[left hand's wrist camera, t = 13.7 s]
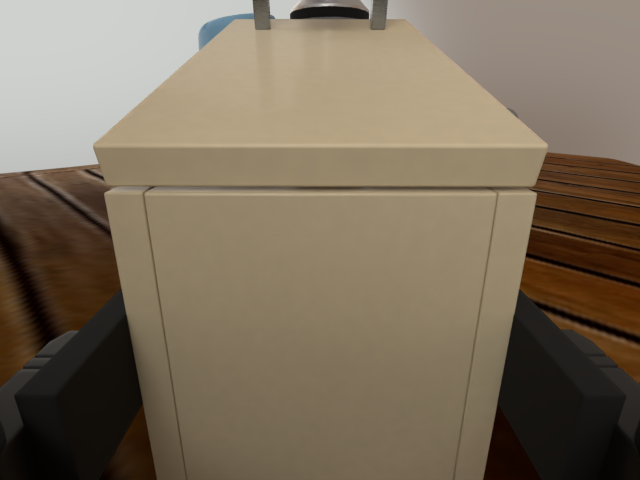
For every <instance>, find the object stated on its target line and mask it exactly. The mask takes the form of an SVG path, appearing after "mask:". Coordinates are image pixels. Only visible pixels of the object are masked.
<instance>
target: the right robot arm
mask: <svg viewBox="0 0 640 480" xmlns="http://www.w3.org/2000/svg"><path fill="white" fill-rule="evenodd" d="M235 19H254V14H253V13H250V14H239V15H232V16H227V17H222V18H218V19H215V20H212V21H209V22H207V23H206V24H204V25H203V26H202V27H201V29H200V31H199V36H198V39H199V50H201V49H202V48H203V47H204V46H205V45H206V44H207V43H209V42H210V41H211V40H212V39H213V38H214V37H215V36H216V35H218V34H219V33H220V32H221V31H222V30H223V29H224V28H226V27H227V26H228V25H229V24H230V23H231V22H232V21H233V20H235ZM270 19H275V17H274V16H272V15H270ZM290 19H369V10H368V9H367V8H366V7H365V6H364V5H363V3H362V2H361V1H360V0H299V2H298V3H297V4H296V5H295V6H294V7H293V8H292V10H291V11H290Z"/></svg>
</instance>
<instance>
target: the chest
mask: <svg viewBox="0 0 640 480" xmlns="http://www.w3.org/2000/svg"><path fill="white" fill-rule="evenodd" d="M104 196H105V201H106V207H107V212H108V218H109V223H110V228H111V234H112V239H113V245H114V250H115V255H116V261H117V266H118V271H119V277H120V282H121V288H122V293H123V298H124V304H125V309H126V315H127V320H128V325H129V331H130V336H131V342H132V347H133V352H134V358H135V363H136V368H137V374H138V379H139V384H140V390H141V395H142V400H143V406H144V412H145V417H146V423H147V428H148V433H149V439H150V444H151V449H152V455H153V460H154V466H155V471H156V476H157V480H483V477H484V472H485V467H486V461H487V456H488V451H489V446H490V440H491V435H492V430H493V424H494V419H495V414H496V409H497V402H498V397H499V391H500V386H501V381H502V375H503V370H504V365H505V359H506V354H507V349H508V343H509V338H510V333H511V327H512V322H513V317H514V313H515V308H516V303H517V298H518V292H519V287H520V282H521V276H522V271H523V266H524V261H525V255H526V250H527V245H528V239H529V234H530V229H531V224H532V218H533V213H534V208H535V202H536V197H537V194H536V193H535V192H533V191H530V190H528V189H526V188H524V187H204V186H118V187H116V188H114V189H112V190H110V191H107V192H105V193H104Z"/></svg>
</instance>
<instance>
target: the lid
mask: <svg viewBox="0 0 640 480" xmlns="http://www.w3.org/2000/svg"><path fill="white" fill-rule="evenodd" d="M387 4H388V0H372V1H371V16H370V19H270V7H269V0H253V10H254V19H235V20H233V21H232V22H231V23H230V24H229V25H228V26H227V27H226V28H224V29H223V30H222V31H221V32H220V33H219V34H218V35H216V36H215V37H214V38H213V39H212V40H211V41H210V42H209V43H207V44H206V45H205V46H204V47H203V48H202V49H201V50H199V51H198V52H197V53H196V54H195V55H194V56H193V57H192V58H190V59H189V60H188V61H187V62H186V63H185V64H184V65H183V66H181V67H180V68H179V69H178V70H177V71H176V72H175V73H173V74H172V75H171V76H170V77H169V78H168V79H167V80H166V81H164V82H163V83H162V84H161V85H160V86H159V87H158V88H157V89H155V90H154V91H153V92H152V93H151V94H150V95H149V96H148V97H146V98H145V99H144V100H143V101H142V102H141V103H140V104H138V105H137V106H136V107H135V108H134V109H133V110H132V111H130V112H129V113H128V114H127V115H126V116H125V117H124V118H123V119H121V120H120V121H119V122H118V123H117V124H116V125H115V126H113V127H112V128H111V129H110V130H109V131H108V132H107V133H106V134H104V135H103V136H102V137H101V138H100V139H99V140H98V141H96V142H95V143H94V145H93V148H94V151H95V154H96V157H97V160H98V162H99V165H100V168H101V171H102V174H103V177H104V180H105V183H106V185H107V186H204V187H533V186H534V185H535V184H536V181H537V178H538V175H539V172H540V170H541V167H542V164H543V161H544V158H545V155H546V153H547V150H548V145H547V143H545V142H544V141H543V140H542V139H541V138H540V137H539V136H537V135H536V134H535V133H534V132H533V131H532V130H531V129H529V128H528V127H527V126H526V125H525V124H524V123H523V122H522V121H520V120H519V119H518V118H517V117H516V116H515V115H514V114H512V113H511V112H510V111H509V110H508V109H507V108H506V107H504V106H503V105H502V104H501V103H500V102H499V101H498V100H496V99H495V98H494V97H493V96H492V95H491V94H490V93H488V92H487V91H486V90H485V89H484V88H483V87H482V86H481V85H479V84H478V83H477V82H476V81H475V80H474V79H473V78H471V77H470V76H469V75H468V74H467V73H466V72H465V71H463V70H462V69H461V68H460V67H459V66H458V65H457V64H455V63H454V62H453V61H452V60H451V59H450V58H449V57H448V56H446V55H445V54H444V53H443V52H442V51H441V50H440V49H438V48H437V47H436V46H435V45H434V44H433V43H432V42H430V41H429V40H428V39H427V38H426V37H425V36H424V35H423V34H421V33H420V32H419V31H418V30H417V29H416V28H414V27H413V26H412V25H411V24H410V23H409V22H408V21H407V20H405V19H386V15H387Z"/></svg>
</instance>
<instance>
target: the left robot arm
mask: <svg viewBox="0 0 640 480" xmlns="http://www.w3.org/2000/svg"><path fill="white" fill-rule="evenodd" d="M142 403H143V400H142V395H141V390H140V384H139V379H138V374H137V368H136V363H135V358H134V352H133V347H132V342H131V336H130V331H129V325H128V320H127V315H126V309H125V304H124V298H123V293H122V288H121V289H120V290H119V291H118V292H117V293H116V294H115V295H114V296H113V297H112V298H111V299H110V300H109V301H108V302H107V303H106V304H105V305H104V306H103V307H102V308H101V309H100V310H99V311H98V312H97V313H96V314H95V315H94V316H93V317H92V318H91V319H90V320H89V321H88V322H87V323H86V324H85V325H84V326H83V327H82V328H81V329H80V330H79V331H68V332H67V333H65V334H63V335H61V336H59V337H58V338H56V339H54V340H52V341H51V342H49V343H48V344H47V345H46V346H45V347H44V348H43V349H42V350H40V351H39V352H38V353H37V354H36V355H35V358H32V359H31V360H30V361H29V362H28V363H26V364H25V365H24V366H23V369H20V370H19V371H18V372H17V373H16V374H15V375H14V376H12V377H11V378H10V379H9V380H8V381H7V382H6V383H5V384H4V385H3V386H2V387H1V388H0V480H99V479H100V477H101V475H102V474H103V472H104V470H105V468H106V467H107V465H108V463H109V461H110V460H111V458H112V456H113V454H114V453H115V451H116V449H117V447H118V446H119V444H120V442H121V440H122V438H123V437H124V435H125V433H126V431H127V430H128V428H129V426H130V424H131V423H132V421H133V419H134V417H135V416H136V414H137V412H138V410H139V409H140V407H141V405H142ZM497 403H498V404H499V406H500V408H501V410H502V411H503V413H504V415H505V417H506V418H507V420H508V422H509V424H510V425H511V427H512V429H513V431H514V432H515V434H516V436H517V438H518V439H519V441H520V443H521V445H522V447H523V448H524V450H525V452H526V454H527V455H528V457H529V459H530V461H531V462H532V464H533V466H534V468H535V469H536V471H537V473H538V475H539V476H540V478H541V480H640V385H639V384H638V383H637V382H636V381H634V380H633V379H632V378H631V377H630V376H629V375H628V374H627V373H626V372H625V371H624V370H623V369H621V368H618V365H617V364H616V363H615V362H614V361H613V360H612V359H611V358H610V357H606V354H605V353H604V352H603V351H602V350H601V349H600V348H599V347H598V346H596V345H595V344H594V343H593V342H592V341H591V340H589V339H587V338H586V337H584V336H582V335H580V334H578V333H577V332H575V331H573V330H560V329H559V328H558V327H557V326H556V325H555V324H554V323H553V322H552V321H551V320H550V319H549V318H548V317H547V316H546V315H545V314H544V313H543V312H542V311H541V310H540V309H539V308H538V307H537V306H536V305H535V304H534V303H533V302H532V301H531V300H530V299H529V298H528V297H527V296H526V295H525V294H524V293H523V292H522V291H521V290H520V289H519V292H518V298H517V303H516V308H515V313H514V317H513V322H512V327H511V333H510V338H509V343H508V349H507V354H506V359H505V365H504V370H503V375H502V381H501V386H500V391H499V397H498V402H497Z"/></svg>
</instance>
